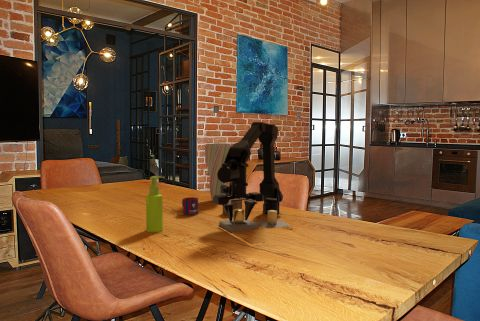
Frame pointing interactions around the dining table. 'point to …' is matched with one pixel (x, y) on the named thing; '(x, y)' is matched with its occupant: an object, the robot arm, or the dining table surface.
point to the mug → (190, 206)
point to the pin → (238, 216)
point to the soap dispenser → (154, 208)
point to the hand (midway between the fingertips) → (238, 220)
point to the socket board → (232, 228)
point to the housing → (234, 206)
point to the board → (279, 224)
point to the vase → (215, 165)
